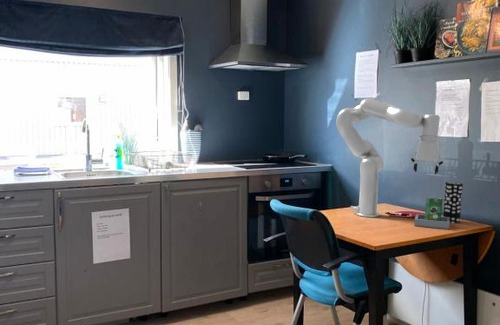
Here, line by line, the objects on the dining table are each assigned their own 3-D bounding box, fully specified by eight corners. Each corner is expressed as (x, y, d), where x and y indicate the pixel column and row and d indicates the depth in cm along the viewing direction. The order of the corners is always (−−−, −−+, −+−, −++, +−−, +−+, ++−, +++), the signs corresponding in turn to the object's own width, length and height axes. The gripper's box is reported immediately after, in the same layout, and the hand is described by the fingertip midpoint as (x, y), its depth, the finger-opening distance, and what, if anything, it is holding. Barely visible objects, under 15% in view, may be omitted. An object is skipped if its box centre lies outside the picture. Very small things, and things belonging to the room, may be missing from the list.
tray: (414, 226, 248) (414, 219, 248) (416, 220, 261) (416, 214, 261) (449, 229, 242) (449, 222, 242) (449, 224, 255) (449, 217, 255)
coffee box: (437, 223, 254) (439, 197, 253) (441, 224, 251) (443, 198, 250) (423, 223, 252) (425, 197, 251) (427, 224, 249) (429, 198, 248)
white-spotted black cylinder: (461, 223, 258) (464, 184, 256) (444, 222, 259) (447, 183, 257) (458, 220, 266) (460, 182, 264) (441, 219, 267) (444, 181, 265)
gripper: (410, 137, 253) (407, 171, 255) (447, 141, 247) (443, 175, 249) (412, 137, 260) (408, 170, 262) (448, 140, 254) (444, 174, 256)
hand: (425, 172), depth 256 cm, fingers open, 9 cm apart
